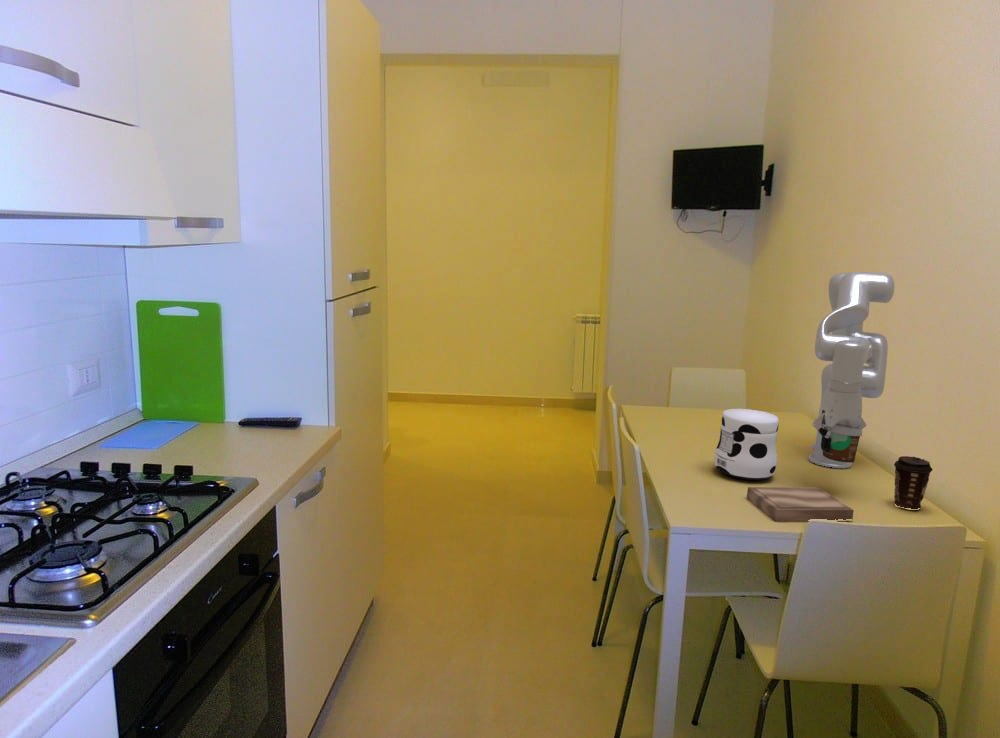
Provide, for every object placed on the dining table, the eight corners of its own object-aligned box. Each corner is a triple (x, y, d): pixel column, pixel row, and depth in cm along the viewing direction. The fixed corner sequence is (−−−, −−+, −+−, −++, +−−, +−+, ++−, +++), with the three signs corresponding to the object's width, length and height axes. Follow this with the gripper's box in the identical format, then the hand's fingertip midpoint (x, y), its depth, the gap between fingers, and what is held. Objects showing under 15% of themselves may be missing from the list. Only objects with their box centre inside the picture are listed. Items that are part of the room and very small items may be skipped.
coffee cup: (914, 501, 197) (921, 455, 195) (933, 513, 189) (941, 465, 186) (882, 500, 197) (889, 454, 194) (900, 512, 189) (907, 464, 186)
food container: (807, 450, 205) (812, 416, 202) (826, 449, 206) (831, 415, 204) (838, 465, 193) (843, 429, 191) (858, 464, 195) (863, 428, 192)
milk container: (779, 473, 216) (787, 414, 213) (768, 489, 201) (776, 426, 198) (721, 461, 225) (727, 404, 221) (706, 476, 210) (712, 415, 207)
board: (746, 497, 193) (747, 486, 193) (817, 498, 196) (818, 487, 195) (775, 521, 178) (777, 509, 177) (852, 521, 180) (853, 509, 180)
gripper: (866, 383, 200) (856, 446, 204) (807, 382, 198) (799, 446, 202) (883, 390, 193) (873, 455, 197) (822, 389, 191) (813, 455, 195)
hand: (835, 450), depth 199 cm, fingers closed on food container, 5 cm apart
